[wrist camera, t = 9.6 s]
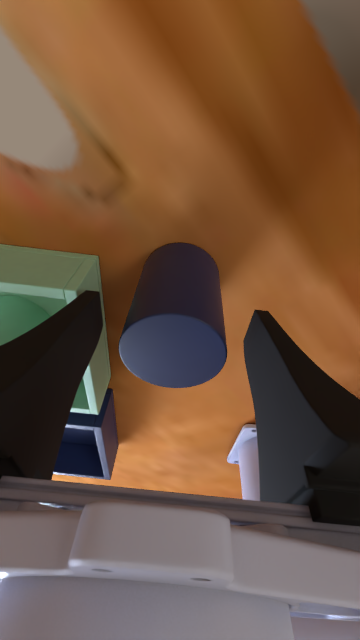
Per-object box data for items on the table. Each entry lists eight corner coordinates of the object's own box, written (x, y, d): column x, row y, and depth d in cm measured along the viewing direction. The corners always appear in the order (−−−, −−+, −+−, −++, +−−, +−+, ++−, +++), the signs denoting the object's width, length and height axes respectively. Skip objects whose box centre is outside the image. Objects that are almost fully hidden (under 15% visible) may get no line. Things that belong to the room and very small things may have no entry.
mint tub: (98, 255, 15) (76, 290, 12) (111, 375, 22) (98, 415, 19) (-98, 231, 14) (-166, 262, 12) (-22, 361, 21) (-54, 398, 19)
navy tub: (112, 388, 23) (101, 427, 20) (118, 445, 30) (110, 480, 27) (-14, 374, 23) (-42, 412, 20) (22, 435, 29) (4, 469, 27)
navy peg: (226, 247, 14) (239, 321, 9) (211, 312, 17) (216, 393, 12) (143, 237, 14) (115, 306, 9) (142, 304, 17) (120, 382, 12)
